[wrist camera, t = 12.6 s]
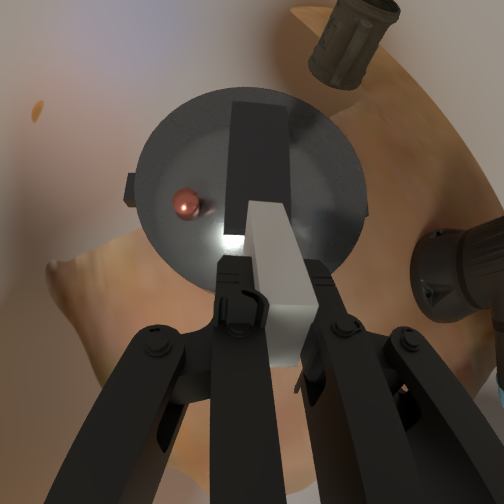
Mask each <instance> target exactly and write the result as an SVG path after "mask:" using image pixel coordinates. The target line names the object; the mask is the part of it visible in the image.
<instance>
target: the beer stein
mask: <svg viewBox="0 0 504 504" xmlns="http://www.w3.org/2000/svg"><path fill="white" fill-rule="evenodd" d="M399 15H400V8H399V6H398V5H397V3H396V2H395V1H393V0H338V1H337V4H336V5H335V8H334V10H333V12H332V14H331V16H330V19H329V21H328V23H327V25H326V28H325V30H324V32H323V34H322V36H321V38H320V40H319V42H318V45H317V46H315V48H314V51H313V54H312V55H311V57H310V58H309V60H308V67H309V69H310V71H311V72H312V74H313V75H314V76H315V77H316V78H317V79H318V80H319V81H321V82H322V83H324V84H326V85H328V86H330V87H333V88H336V89H341V90H354V89H356V88H357V87H358V86H359V85H360V83H361V81H362V77H363V76H364V75H365V73H366V68H367V66H368V64H369V62H370V60H371V59H372V57H373V55H374V53H375V51H376V50H377V48H378V44H379V42H380V40H381V39H382V38H383V35H384V34H385V32H386V31H387V29H388V28H389V26H390V25H392V24H393V23H395V22H397V20H398V18H399Z"/></svg>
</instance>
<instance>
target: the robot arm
mask: <svg viewBox="0 0 504 504" xmlns="http://www.w3.org/2000/svg"><path fill="white" fill-rule="evenodd" d="M410 278H411V286H412V291H413V294H414V297H415V300H416V302H417V304H418V306H419V308H420V309H421V311H422V312H423V313H424V314H425V315H426V316H427V317H428V318H429V319H431V320H432V321H434V322H437V323H453V322H457V321H460V320H461V319H463V318H465V317H467V316H469V315H471V314H473V313H474V312H476V311H478V310H480V309H491V315H492V321H493V329H494V338H495V348H496V363H497V374H496V381H497V384H498V393H499V400H500V403H501V404H502V407H503V408H504V216H501V217H499V218H496V219H494V220H491V221H489V222H486V223H484V224H481V225H478V226H476V227H474V228H471V229H468V230H461V229H448V228H443V229H438V230H435V231H433V232H431V233H428V234H426V235H425V236H424V237H423V238H422V239H421V240H420V241H419V242H418V244H417V246H416V248H415V250H414V252H413V256H412V260H411V268H410ZM300 357H301V362H302V366H303V369H302V371H301V374H300V376H299V378H298V381H297V383H296V385H295V388H294V393H298V391H299V389H300V387H301V392H302V397H303V402H304V408H305V413H306V419H307V424H308V430H309V436H310V441H311V447H312V453H313V459H314V465H315V471H316V477H317V483H318V489H319V495H320V502H321V504H504V446H503V444H502V443H501V441H500V440H499V438H498V436H497V435H496V433H495V432H494V430H493V429H492V427H491V426H490V424H489V423H488V421H487V420H486V418H485V417H484V415H483V414H482V413H481V411H480V410H479V408H478V407H477V405H476V404H475V403H474V401H473V400H472V398H471V397H470V396H469V394H468V393H467V392H466V390H465V389H464V387H463V386H462V385H461V383H460V382H459V381H458V379H457V378H456V377H455V375H454V374H453V373H452V371H451V370H450V369H449V368H448V366H447V365H446V364H445V362H444V361H443V360H442V359H441V357H440V356H439V355H438V354H437V352H436V351H435V350H434V349H433V347H432V346H431V345H430V344H429V342H428V341H427V340H426V339H425V337H424V336H423V335H422V334H420V333H419V332H418V331H416V330H415V329H413V328H410V327H405V326H403V327H397V328H396V329H394V330H393V331H392V333H391V335H390V336H384V335H380V334H375V333H371V332H368V331H366V330H365V327H364V326H363V324H362V323H361V321H359V320H358V319H357V318H356V317H354V316H352V315H350V314H348V313H347V311H346V309H345V306H344V304H343V301H342V299H341V297H340V294H339V292H338V290H337V287H335V283H334V280H333V279H332V276H331V274H330V271H329V269H328V268H327V267H326V266H325V265H324V264H323V263H322V262H321V261H320V260H317V259H303V258H302V255H301V252H300V250H299V247H298V244H297V241H296V238H295V236H294V233H293V230H292V228H291V225H290V222H289V219H288V217H287V214H286V211H285V209H284V206H283V203H273V202H262V201H250V200H249V204H248V212H247V221H246V230H245V238H244V247H243V256H235V255H223V256H222V257H221V259H220V260H219V261H218V262H217V274H216V289H215V301H214V315H213V318H212V320H211V322H210V323H209V324H208V325H207V326H206V327H204V328H202V329H200V330H198V331H194V332H191V333H185V334H180V333H179V332H178V331H177V330H176V329H174V328H172V327H170V326H167V325H159V324H157V325H151V326H147V327H145V328H143V329H141V330H139V332H138V333H137V334H136V335H135V336H134V337H133V339H132V340H131V342H130V343H129V345H128V347H127V348H126V350H125V352H124V353H123V355H122V357H121V358H120V360H119V362H118V363H117V365H116V367H115V368H114V370H113V372H112V374H111V375H110V377H109V379H108V380H107V382H106V384H105V386H104V387H103V389H102V391H101V393H100V394H99V396H98V398H97V400H96V401H95V403H94V405H93V407H92V409H91V411H90V412H89V414H88V416H87V418H86V420H85V421H84V423H83V425H82V427H81V429H80V431H79V433H78V435H77V437H76V439H75V440H74V442H73V444H72V446H71V448H70V450H69V452H68V454H67V456H66V458H65V460H64V462H63V464H62V466H61V468H60V470H59V472H58V474H57V476H56V478H55V480H54V483H53V485H52V487H51V489H50V491H49V493H48V495H47V498H46V500H45V502H44V504H152V503H153V500H154V497H155V494H156V492H157V489H158V486H159V483H160V481H161V478H162V475H163V472H164V470H165V467H166V464H167V462H168V459H169V456H170V453H171V451H172V448H173V445H174V443H175V440H176V437H177V434H178V432H179V429H180V426H181V424H182V421H183V418H184V416H185V413H186V410H187V407H188V405H189V403H193V402H197V401H202V400H206V399H210V504H287V502H286V494H285V485H284V477H283V469H282V461H281V453H280V444H279V436H278V428H277V420H276V412H275V404H274V396H273V388H272V380H271V372H270V367H297V364H298V362H299V359H300ZM404 384H405V385H406V387H407V388H408V391H407V392H406V391H404V390H403V389H402V388H401V387H402V386H403V385H404Z"/></svg>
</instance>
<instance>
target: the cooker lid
mask: <svg viewBox="0 0 504 504" xmlns="http://www.w3.org/2000/svg"><path fill="white" fill-rule="evenodd" d="M134 191H135V203H136V208H137V214H138V216H139V219H140V222H141V225H142V228H143V230H144V232H145V234H146V236H147V238H148V240H149V241H150V243H151V244H152V246H153V247H154V249H155V250H156V251H157V253H158V254H159V255H160V257H161V258H162V259H163V260H164V261H165V262H166V263H167V264H168V265H169V266H170V267H171V268H172V269H173V270H174V271H176V272H177V273H178V274H179V275H181V276H182V277H183V278H185V279H186V280H187V281H189V282H191V283H193V284H194V285H196V286H198V287H200V288H202V289H204V290H207V291H209V292H212V293H214V294H215V289H216V274H217V262H218V261H219V260H220V259H221V257H222V256H223V255H235V256H243V247H244V238H245V230H246V221H247V212H248V204H249V200H250V201H262V202H273V203H283V206H284V209H285V211H286V214H287V217H288V219H289V222H290V225H291V228H292V230H293V233H294V236H295V238H296V241H297V244H298V247H299V250H300V252H301V255H302V258H303V259H317V260H320V261H321V262H322V263H323V264H324V265H325V266H326V267H327V268H328V269H329V271H330V274H332V273H333V272H334V271H335V270H336V269H337V268H338V267H339V266H340V265H341V264H342V263H343V262H344V261H345V259H346V258H347V257H348V255H349V254H350V253H351V251H352V250H353V248H354V246H355V244H356V242H357V241H358V238H359V236H360V233H361V231H362V228H363V224H364V220H365V215H366V206H367V192H366V183H365V178H364V173H363V170H362V167H361V164H360V161H359V159H358V157H357V155H356V153H355V151H354V149H353V147H352V146H351V144H350V142H349V141H348V139H347V138H346V137H345V135H344V134H343V133H342V132H341V130H340V129H339V128H338V127H337V126H336V125H335V124H334V123H333V122H332V121H331V120H330V119H329V118H328V117H326V116H325V115H324V114H323V113H321V112H320V111H319V110H317V109H316V108H314V107H313V106H311V105H309V104H308V103H306V102H304V101H302V100H300V99H298V98H296V97H293V96H290V95H288V94H285V93H282V92H278V91H274V90H270V89H264V88H255V87H236V88H227V89H221V90H216V91H213V92H209V93H206V94H203V95H201V96H198V97H196V98H194V99H191V100H190V101H188V102H186V103H184V104H182V105H181V106H179V107H178V108H177V109H175V110H174V111H172V112H171V113H170V114H169V115H168V116H167V117H166V118H165V119H164V120H162V121H161V122H160V124H159V125H158V126H157V127H156V129H155V130H154V131H153V132H152V134H151V135H150V137H149V139H148V140H147V142H146V144H145V146H144V148H143V151H142V153H141V155H140V157H139V161H138V165H137V168H136V174H135V183H134Z"/></svg>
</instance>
